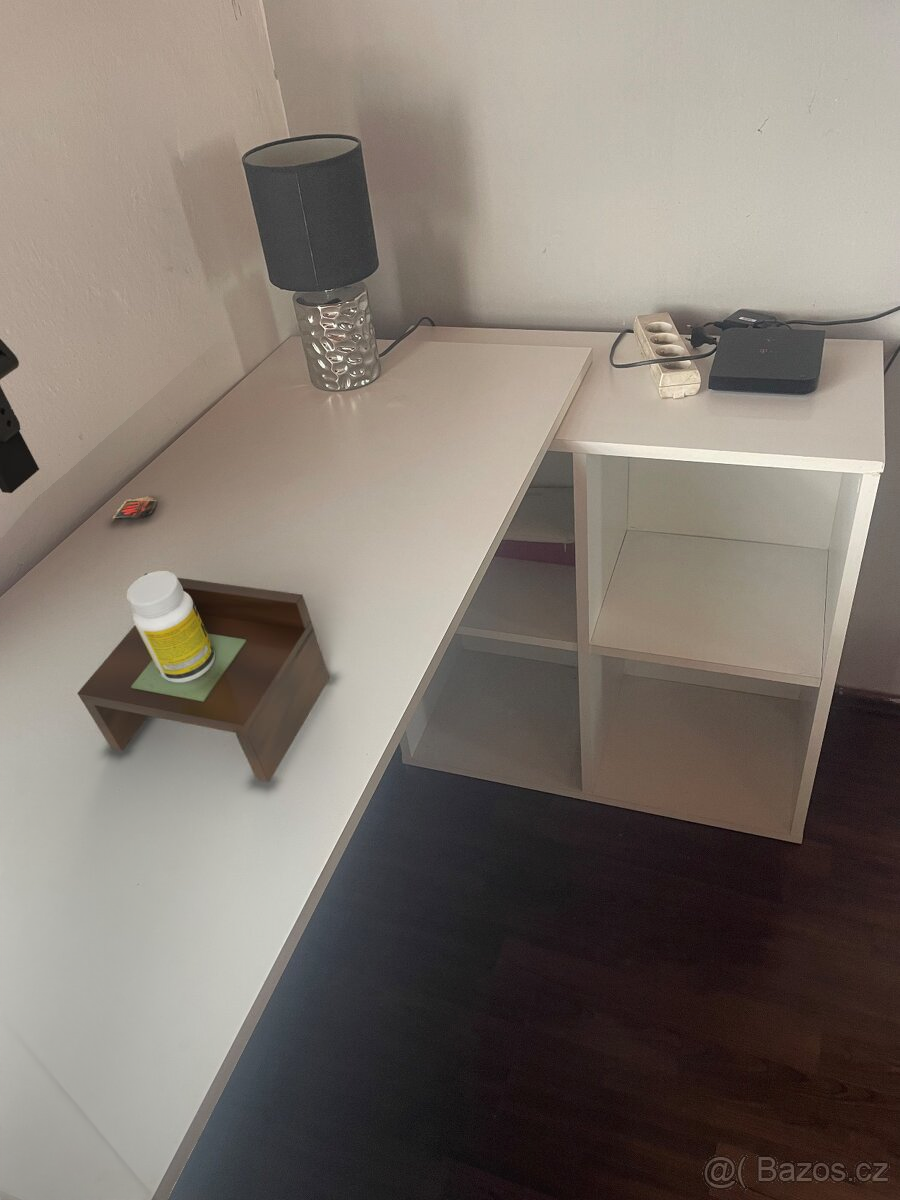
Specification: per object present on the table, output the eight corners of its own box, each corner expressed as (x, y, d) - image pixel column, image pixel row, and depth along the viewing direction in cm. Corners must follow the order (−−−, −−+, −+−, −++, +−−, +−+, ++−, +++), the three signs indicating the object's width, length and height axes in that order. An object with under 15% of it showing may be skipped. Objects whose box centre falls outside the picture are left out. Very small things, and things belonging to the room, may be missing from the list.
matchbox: (153, 516, 103) (152, 513, 103) (111, 524, 103) (109, 521, 103) (159, 495, 107) (157, 492, 106) (118, 502, 107) (116, 499, 106)
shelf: (268, 782, 71) (231, 699, 64) (110, 748, 76) (61, 667, 69) (330, 677, 79) (302, 593, 72) (183, 653, 84) (145, 573, 78)
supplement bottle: (228, 656, 72) (195, 579, 66) (183, 692, 69) (145, 615, 64) (192, 636, 74) (158, 560, 69) (148, 670, 72) (109, 594, 66)
